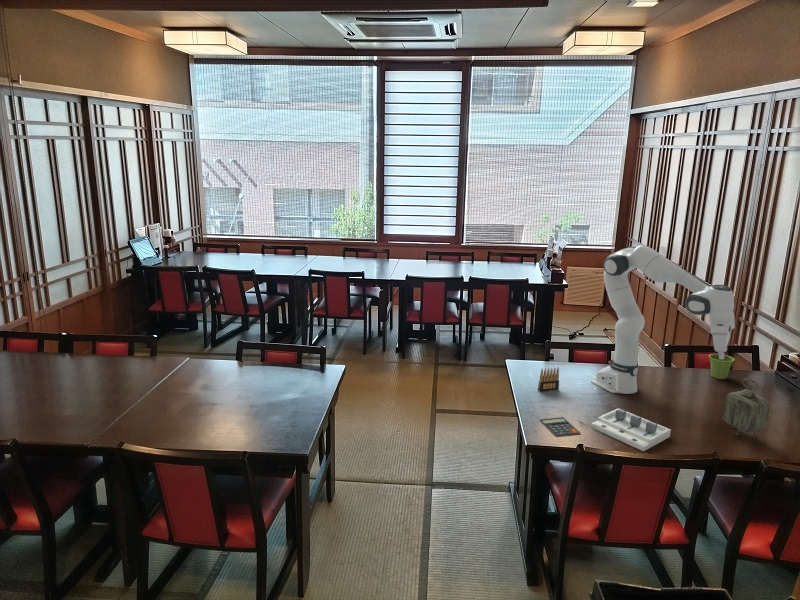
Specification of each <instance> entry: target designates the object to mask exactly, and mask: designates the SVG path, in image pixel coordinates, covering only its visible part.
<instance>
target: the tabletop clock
mask: <svg viewBox="0 0 800 600" xmlns="http://www.w3.org/2000/svg"><path fill="white" fill-rule="evenodd" d="M745 381H749V382H752V383H753V384H755V385H756V388H752V386H751V385H748V386H747V385H746V384H745V383H744V382H745ZM741 382H742V385H743V386H744V387H745V389H743V390H738V391H733V392H729V393H728V394H727V395H726V397H725V398H724V402H723V407H722V412H721V413H722V414H721V415H722V420H723V421H724V422H725V423H727V424H729V425H730V426H731V428H733V429H735V428H736V429H737V430H736V431H735V432H734V435H735V436H740V431H742V432H745V433H749V434H753V435H754V439H755V440H757V439H758V440H760V436H759V435H757V432H760V431H764V430H765V429H766V427H767V425H768V422H769V419H770V413H771V411H770V410H771V407H770V402H769V401H768V400H766V399H765V398H763V397H761V396H760V395H758V394H756V392H755V391H758V389H759V384H758V383H757V382H756V381H754V380H753V379H750V378H744V379H743V380H742V381H741Z"/></svg>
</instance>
